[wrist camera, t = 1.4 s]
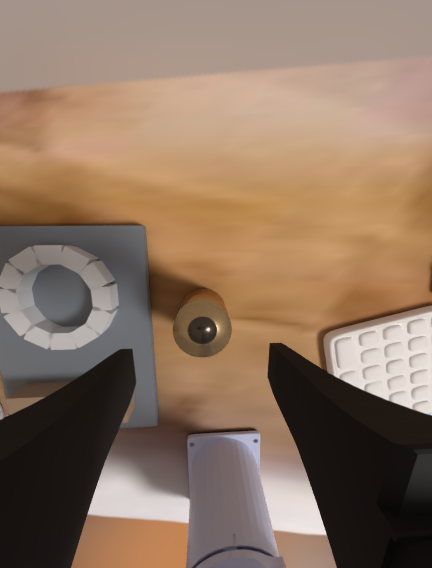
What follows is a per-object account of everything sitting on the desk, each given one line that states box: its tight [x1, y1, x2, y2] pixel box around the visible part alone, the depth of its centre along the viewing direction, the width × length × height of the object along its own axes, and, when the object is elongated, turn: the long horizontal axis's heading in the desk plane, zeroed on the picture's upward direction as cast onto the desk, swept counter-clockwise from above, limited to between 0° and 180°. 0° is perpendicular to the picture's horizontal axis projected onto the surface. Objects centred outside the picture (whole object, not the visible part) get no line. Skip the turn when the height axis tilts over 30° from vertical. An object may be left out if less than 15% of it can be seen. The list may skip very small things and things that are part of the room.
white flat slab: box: [323, 305, 432, 415], centre depth 23 cm, size 13×20×2 cm, turn 14°
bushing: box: [173, 288, 232, 357], centre depth 18 cm, size 4×4×5 cm
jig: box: [0, 225, 159, 428], centre depth 19 cm, size 20×14×3 cm
